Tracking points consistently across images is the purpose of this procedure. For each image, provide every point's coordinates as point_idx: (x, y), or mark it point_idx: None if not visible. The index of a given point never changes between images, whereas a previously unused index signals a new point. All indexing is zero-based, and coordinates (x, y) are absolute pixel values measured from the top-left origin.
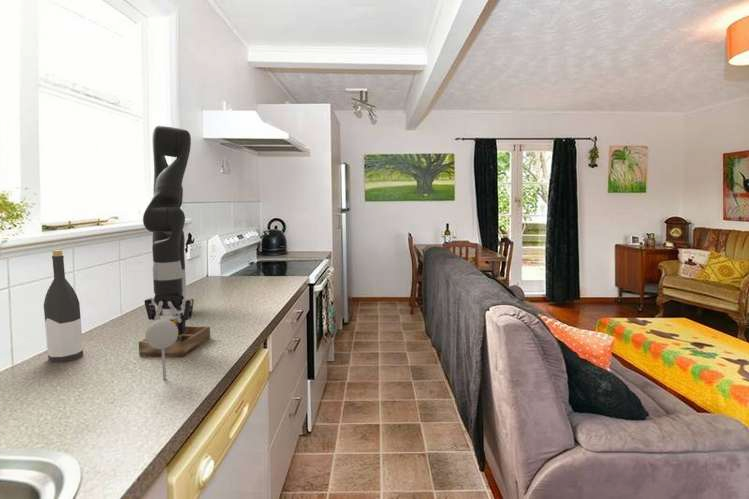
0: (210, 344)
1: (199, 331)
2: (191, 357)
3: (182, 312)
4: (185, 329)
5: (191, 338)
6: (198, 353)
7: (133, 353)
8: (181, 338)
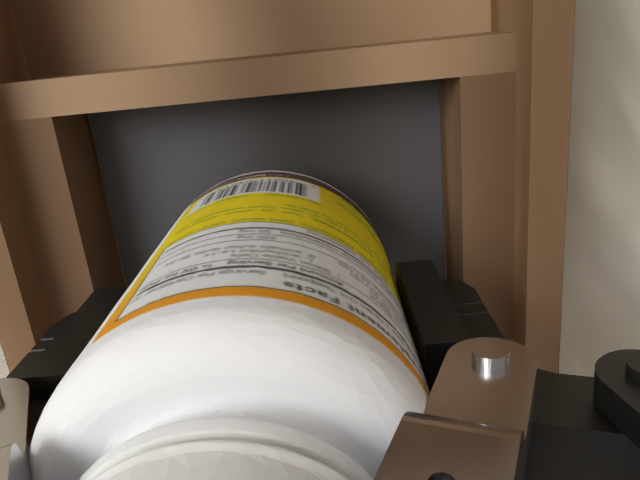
0: (609, 3)
1: (539, 23)
2: (580, 375)
3: (520, 476)
4: (475, 293)
5: (557, 297)
6: (598, 282)
7: (4, 377)
8: (377, 234)
